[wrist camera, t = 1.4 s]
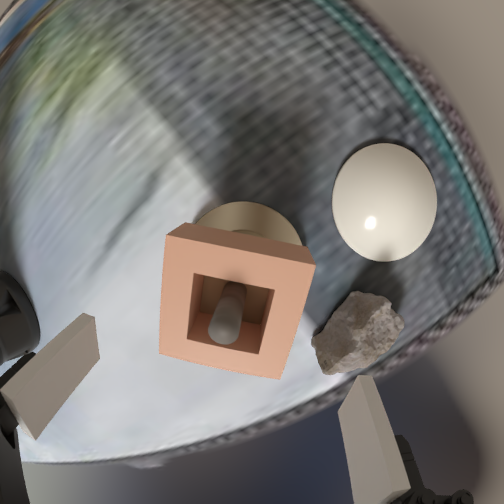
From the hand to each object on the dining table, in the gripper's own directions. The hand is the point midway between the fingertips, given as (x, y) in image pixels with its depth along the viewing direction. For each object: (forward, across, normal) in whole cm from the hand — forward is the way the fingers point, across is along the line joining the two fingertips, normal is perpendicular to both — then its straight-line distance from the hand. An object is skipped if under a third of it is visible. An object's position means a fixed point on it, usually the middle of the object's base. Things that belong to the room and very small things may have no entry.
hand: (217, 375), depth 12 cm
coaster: (+17, +12, +9) cm, 23 cm away
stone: (+17, +13, -5) cm, 22 cm away
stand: (+17, 0, 0) cm, 17 cm away
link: (+10, 0, 0) cm, 10 cm away
